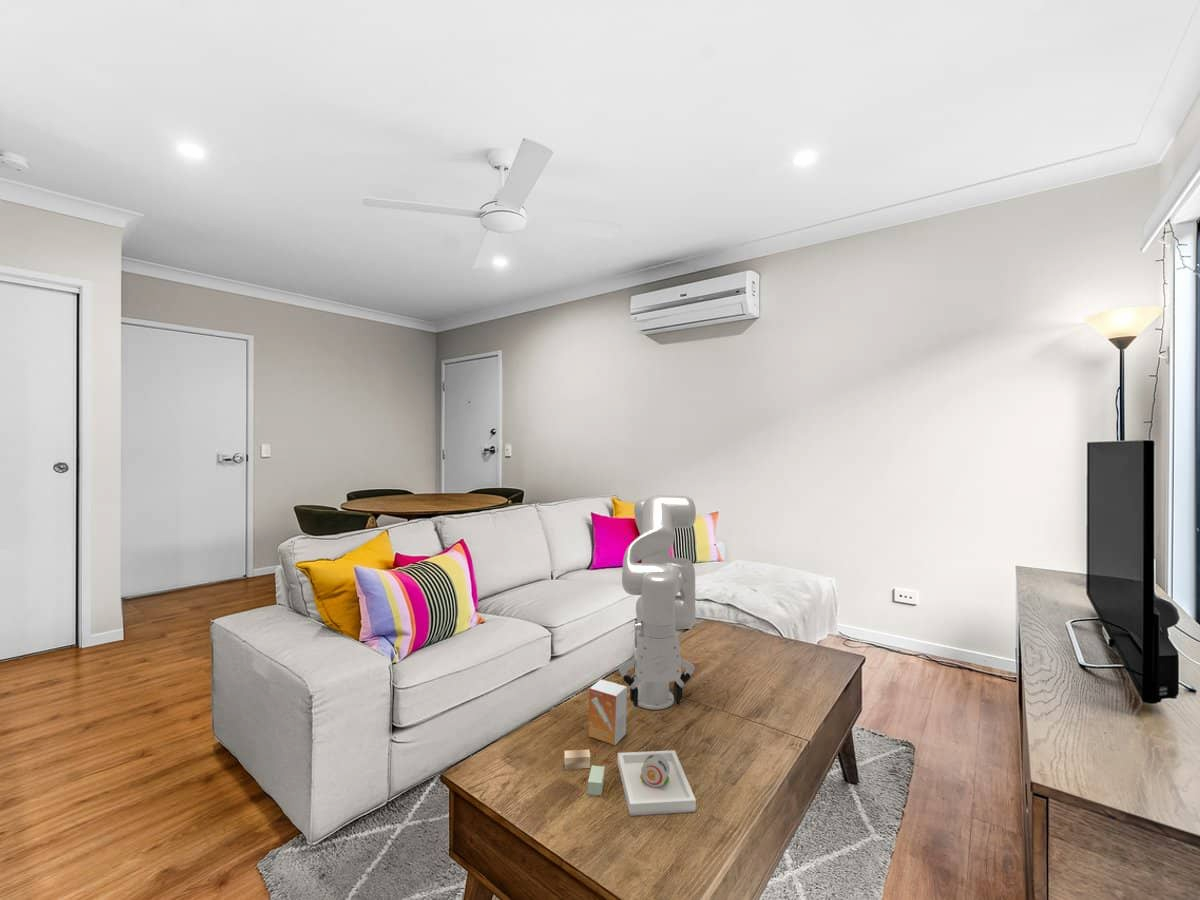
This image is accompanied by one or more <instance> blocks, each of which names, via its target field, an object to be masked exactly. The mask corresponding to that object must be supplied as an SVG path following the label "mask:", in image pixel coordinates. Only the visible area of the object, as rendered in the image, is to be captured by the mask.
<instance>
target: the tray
mask: <svg viewBox="0 0 1200 900" xmlns="http://www.w3.org/2000/svg"><path fill="white" fill-rule="evenodd" d="M651 754H659V755H661V756H663V757H664V758H665V759H666V760H667V762H668V764H669V774H668V776H669V782H668V783H666V784H663V785H662V786H660V787H652V786H650V785H648V784H647V783H645V782H643V781H642V780H641V777H640V775H641V769H642V766H643V764H644V762H645V760H646V758H647V757H648V756H649V755H651ZM617 767H618V770H619V775H620V780H621V783H622V784H621V785H622V788H623V792H624V797H625V800H626V805H627V808H628V809H627V810H628V813H629V816H630V817H632V816H633V817H634V816H648V815H649V816H651V815H652V816H653V815H663V814H664V815H670V814H680V813H682V814H683V813H696V811H697V799H696V797H695V794H694V793H693V790H692V787H691V785H690V783H689V781H688V778H687V776H686V774H685V772H684V769H683V767H682V763H681V762H680V759H679V756H678V755H677V752H676V750H675V749H674V750H656V751H655V750H653V751H652V750H651V751H634V752H633V751H631V752H617Z"/></svg>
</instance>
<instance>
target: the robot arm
mask: <svg viewBox="0 0 1200 900" xmlns="http://www.w3.org/2000/svg"><path fill="white" fill-rule="evenodd" d="M696 510H697V509H696V505H695V502H694V499H692V498H691V497H689V496H687V495H668V494H666V495H664V494H663V495H662V494H658V495H652V496H650V497H648V498H643V499H639V500H637V501H636V502H635V503H634V506H633V514H634V520H635V523H636V526H637V529H638V532H639V536H637V537H636V538H635V539H634V540H633V541H632V542H631V543H630V544H629V545H628V546H627V548H626V550H625V552H624V555H623V559H622V573H621V584H622V588H623V590H624V591H625V593H627V594H628V595H630V596H639V597H638V598H637V600H636V604H635V616H636V623H634V630H635V631H637V637H636V641H635V648H634V657H633V658H632V659H630V660H628V661H626V662H625V663H623V664H621V665H619V666H618V671H619V673H620V675H621V678H623V681H624V682H625V683H626V684H627V685H628V686H629V700H630V702H632V703H633V706H634V707H637V706H638V707H641V708H643V709H645V710H646V709H647V710H651V711H652V710H654V711H655V710H656V711H658V710H659V711H660V710H664V709H665V710H666V709H667V708H669V707H671V706H673V704H676V705H677V706H678V705H679V706H680V704H681V700H683V688H684V687H685V684H686V683H687V682H688V681H690V679H691V676H692V675H693V672H694V671H695V669H696V667H695V665H694V664H693V663H691V662H690V661H688V660H685V659H684V658H681V646H680V640H679V635H678V633H676V632H675V630H677V629H679V630H686V629H692V627H693V626H694V624H695V621H696V570H695V567H694V566H695V565H694V564H693V561H691V560H690V559H688V558H684V557H672V556H671V547H672V546H673V545H674V542H675V529H688V528H691V527H693V526H694V525H695V521H696V516H697V511H696ZM639 561H641V562H639ZM682 667H683V668H685V671H684V672H682ZM632 668H633V671H634V673H633V674H632V676H630V675H629V674H628V673H627V672H628V671H629V670H631V669H632ZM672 682H673V693H672V692H671V691H670V683H672Z"/></svg>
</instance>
